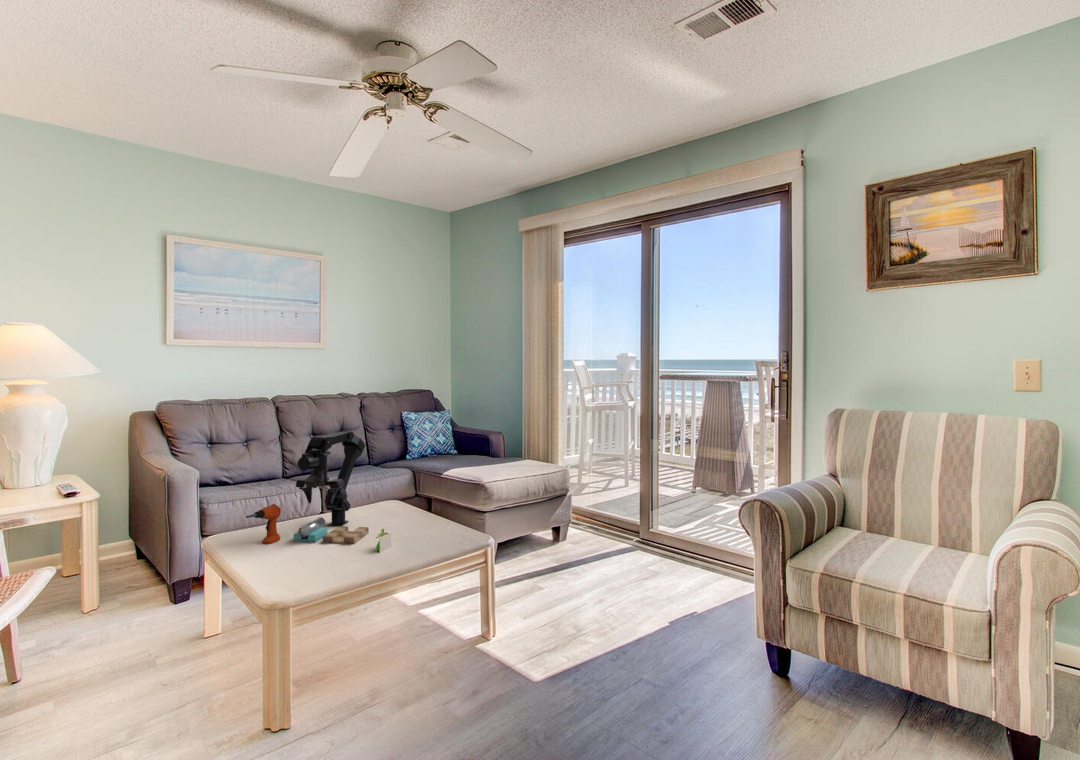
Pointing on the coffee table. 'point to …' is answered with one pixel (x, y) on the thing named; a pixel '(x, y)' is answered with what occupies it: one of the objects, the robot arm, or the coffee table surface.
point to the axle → (311, 527)
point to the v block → (311, 535)
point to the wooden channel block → (345, 535)
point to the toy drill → (269, 522)
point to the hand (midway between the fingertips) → (320, 503)
